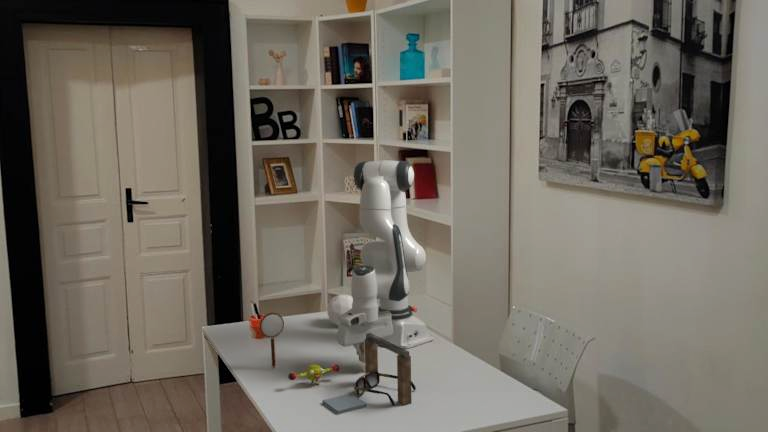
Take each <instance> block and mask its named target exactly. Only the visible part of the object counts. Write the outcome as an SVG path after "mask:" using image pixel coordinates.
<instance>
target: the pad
mask: <svg viewBox="0 0 768 432" xmlns="http://www.w3.org/2000/svg"><path fill="white" fill-rule="evenodd" d="M322 404H323V405H324V406H326V407H327V408H328V409H330V410H331V411H332V412H334V413H336V414H337V415H341V414H344V413H348V412H352V411H355V410H359V409H363V408H366V407H368V403H367V402H366V401H364V400H362V399H361V398H359V397H358V396H356V395H355V394H353V393H351V392H350V393H345V394H342V395H337V396H334V397H330V398H329V397H328V398H325V399H322Z"/></svg>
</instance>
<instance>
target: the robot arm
mask: <svg viewBox="0 0 768 432" xmlns="http://www.w3.org/2000/svg"><path fill="white" fill-rule="evenodd" d="M414 179H415V171H414V168H413V165H412V164H411V163H410V162H408V161H406V160H400V161H399V160H392V159H391V160H390V159H388V160H387V159H383V160H372V161H369V160H364V161H361V162H358V163H357V165H356V166H355V167H354V170H353V181H354V184H355V186H356V187H357V189H359V190H360V191H361V193H360V200H359V212H358V213H359V217H358V218H359V224H360V226H361V228H362V229H363V230H364V231H365V232H366V233H367V234H369V235H371V236H373V237H375V238H378V239H380V240H382V241H379V240H378V241H377V240H376V241H370V242H367V243H365V244H364V245H363V246H362V247H361V250H360V255H359V257H360V261H361V263H362V265H359V266H357V267H354V268H353V270H352V272H351V273H352V274H351V285H350V287H351V290H350V292H351V297H353V303H352V309H350V310H349V311H347V312H345V313H344V314H342V315H340V316H339V321H340V322H341V323H340V324H339V326H337V343H338V344H339V345H340V346H342V347H350V346H353V347H354V349H355V351H356V356H358V357H359V355H363V353H362V352H363V350H361V349H360V348H359V347H358V346H360V343H363V342H364V341H365V339H366V334H367V333H372V334H374V335H376V336H378V337H380V338H382V339H384V340H386V341H388V342H390V343H392V344H394V345H396V346H398V347H400V348H403V349H405V350H407V349H411V348H414V347H417V346H421V345H423V344H426V343H429V342H432V341H434V336H433V335H432V334H431V333H429V332H428V328H427V325H426V323H425V321H423V320H422V319H419V317H417V316H416V315H414V314H413V313H417V312H418V308H417V307H416V306H412V305H409V293H410V285H411V284H410V280H409V276H408V275H409V274H408V273H413V272H420V271H421V270H422V269H423V268H424V267H425V266H426V265H425V264H426V262H427V254H426V250H425V249H424V248H423V247H422V245H421V244H419V242H417V241H416V240H415V238H414V237H413V235H412V233H411V232H410V229H409V225H408V224H409V223H408V215H407V214H408V213H407V197H406V191H407V190H409V189H411V187H412V186H413V184H414V181H415V180H414ZM378 302H379V303H378ZM377 346H379V345H378V344H377Z"/></svg>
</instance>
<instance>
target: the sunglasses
mask: <svg viewBox="0 0 768 432" xmlns="http://www.w3.org/2000/svg"><path fill="white" fill-rule="evenodd" d="M380 377H384V378H391V379H396V380H397V375H393V374H388V373H381V372H379V370H378V371H376V370H373V371H371V372H368V373H366V374H363V375H362V376H360V377H359V378H358V379H357V380H355V385H354V386H353V388H354V390H355V391H356V395H357V396H362V395H364V393H365V392H366V393H367V392H368V393H372V394H378V395H386V396H387V397H388V399H389V401H390V404H391V405H392V406H393V407H394V406H395V401H394V399H393V398H392V396H391V395H390V394H389V393H388V392H384V391H380V390H376V389H372V388H373V387H376V386H377V385H379V384H380ZM366 387H369V388H366ZM411 389H412V390H414V391H416V390H417V388H416V385H415V384H414V382H413V381H412V380H411Z"/></svg>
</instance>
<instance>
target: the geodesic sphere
mask: <svg viewBox="0 0 768 432" xmlns="http://www.w3.org/2000/svg"><path fill="white" fill-rule="evenodd" d="M352 303H353V297H352V295H349V294H345V293H341V292H340V293H339V294H338V295H336V296H333V297H332V299H331V300H330V301H329V302H328V304H327V316H328V318H329V321H330V322H331V323H333V324H335V325H336V326H337V327H339V324H340V323H341V322H340V321H339V316H340V315H342V314H344V313H345V312H347V311H349V310H350V309H352Z"/></svg>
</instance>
